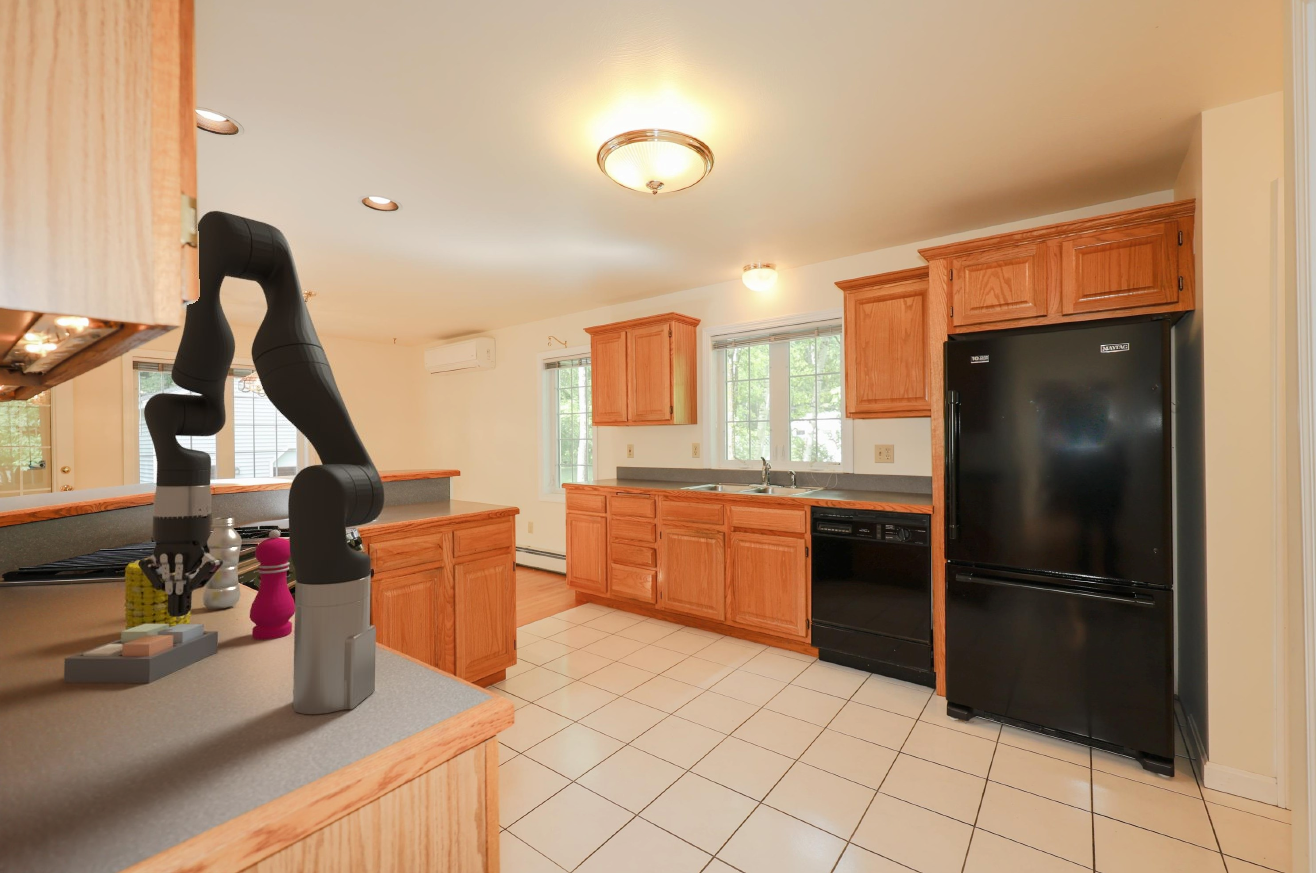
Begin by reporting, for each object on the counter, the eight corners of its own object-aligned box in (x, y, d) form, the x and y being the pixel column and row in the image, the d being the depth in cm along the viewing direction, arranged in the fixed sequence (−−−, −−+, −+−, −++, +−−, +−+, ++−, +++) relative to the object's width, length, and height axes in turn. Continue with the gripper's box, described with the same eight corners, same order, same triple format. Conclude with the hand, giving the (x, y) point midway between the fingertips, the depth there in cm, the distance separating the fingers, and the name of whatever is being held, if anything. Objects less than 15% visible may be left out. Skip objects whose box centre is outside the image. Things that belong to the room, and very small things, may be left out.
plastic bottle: (210, 605, 127) (212, 517, 128) (245, 602, 129) (247, 516, 130) (196, 612, 121) (198, 520, 122) (233, 610, 123) (235, 519, 124)
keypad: (217, 652, 98) (217, 631, 98) (149, 682, 85) (149, 658, 85) (143, 651, 98) (143, 630, 98) (63, 682, 85) (64, 658, 85)
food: (194, 629, 115) (171, 648, 105) (123, 622, 111) (93, 641, 101) (215, 556, 116) (195, 568, 106) (145, 546, 112) (118, 558, 102)
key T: (172, 655, 90) (173, 635, 90) (148, 665, 86) (149, 644, 86) (146, 655, 90) (147, 635, 90) (121, 665, 86) (122, 644, 86)
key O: (203, 643, 96) (203, 623, 96) (182, 651, 92) (182, 631, 92) (178, 643, 96) (179, 623, 96) (156, 651, 92) (157, 631, 92)
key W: (168, 643, 96) (169, 623, 96) (146, 651, 92) (146, 631, 92) (144, 642, 96) (144, 623, 96) (120, 651, 92) (121, 631, 92)
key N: (135, 664, 90) (136, 644, 90) (109, 675, 86) (110, 653, 86) (109, 664, 90) (110, 643, 90) (82, 674, 86) (83, 653, 86)
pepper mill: (303, 629, 110) (305, 527, 111) (275, 641, 103) (277, 532, 104) (269, 628, 111) (272, 526, 112) (239, 640, 104) (241, 532, 104)
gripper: (122, 514, 91) (118, 621, 91) (203, 515, 91) (200, 622, 91) (163, 509, 99) (160, 608, 98) (238, 510, 98) (235, 609, 98)
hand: (179, 615), depth 94 cm, fingers closed
